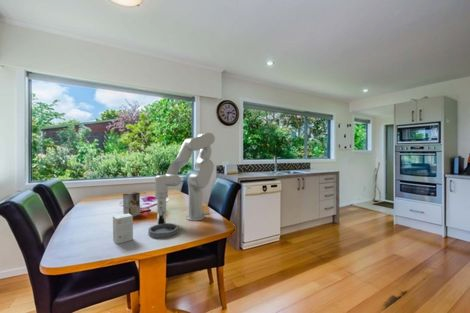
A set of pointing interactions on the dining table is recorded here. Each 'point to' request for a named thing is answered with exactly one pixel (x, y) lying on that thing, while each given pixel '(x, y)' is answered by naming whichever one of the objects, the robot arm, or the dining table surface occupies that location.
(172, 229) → the round bowl
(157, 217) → the white egg
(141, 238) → the dining table surface
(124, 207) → the coffee box
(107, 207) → the dining table surface
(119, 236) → the small box
